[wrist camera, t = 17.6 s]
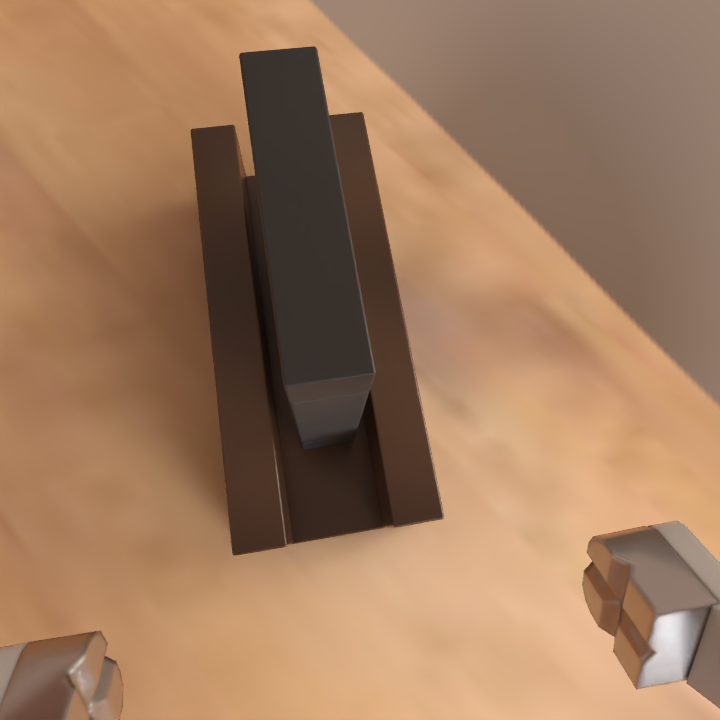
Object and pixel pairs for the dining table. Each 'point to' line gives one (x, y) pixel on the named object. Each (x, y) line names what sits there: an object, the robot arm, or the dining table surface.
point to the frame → (307, 246)
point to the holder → (264, 375)
